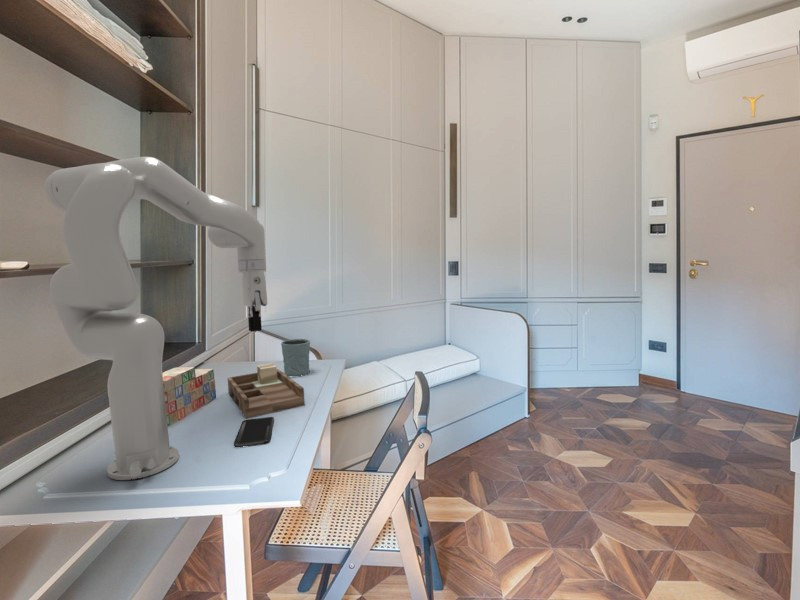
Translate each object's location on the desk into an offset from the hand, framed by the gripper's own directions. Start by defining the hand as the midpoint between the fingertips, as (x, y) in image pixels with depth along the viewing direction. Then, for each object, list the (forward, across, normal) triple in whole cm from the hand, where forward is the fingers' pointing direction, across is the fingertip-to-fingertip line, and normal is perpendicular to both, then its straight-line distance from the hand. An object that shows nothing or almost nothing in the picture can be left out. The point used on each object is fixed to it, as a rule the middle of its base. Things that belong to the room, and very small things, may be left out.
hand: (255, 330), depth 120 cm
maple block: (+18, +12, -6) cm, 23 cm away
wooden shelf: (+21, +3, -2) cm, 22 cm away
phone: (+23, -21, +6) cm, 31 cm away
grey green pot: (+20, +24, -19) cm, 37 cm away
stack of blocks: (+22, +7, +19) cm, 30 cm away
